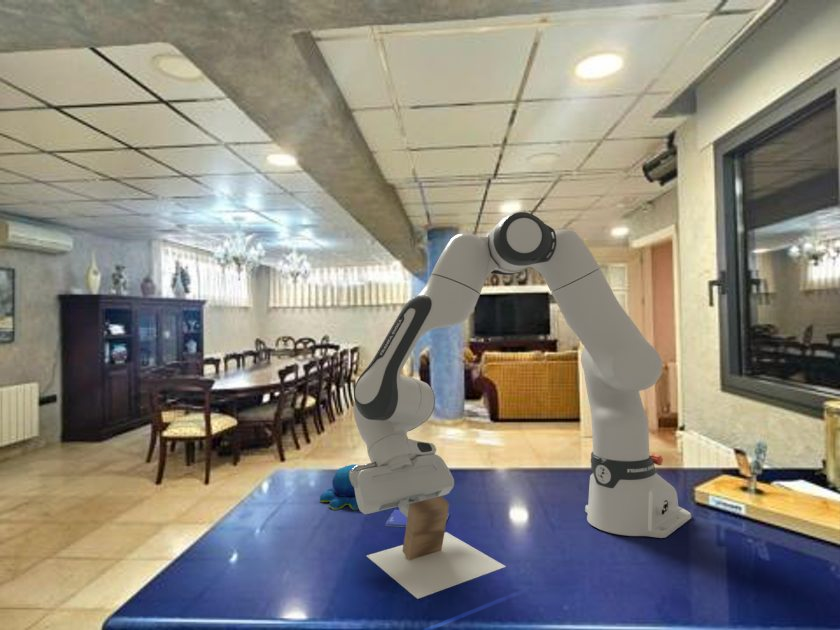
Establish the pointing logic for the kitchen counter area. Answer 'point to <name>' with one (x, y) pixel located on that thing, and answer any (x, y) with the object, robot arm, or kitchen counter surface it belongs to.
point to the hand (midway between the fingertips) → (420, 522)
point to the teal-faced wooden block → (425, 527)
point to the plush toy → (341, 490)
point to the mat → (435, 566)
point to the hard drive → (398, 519)
